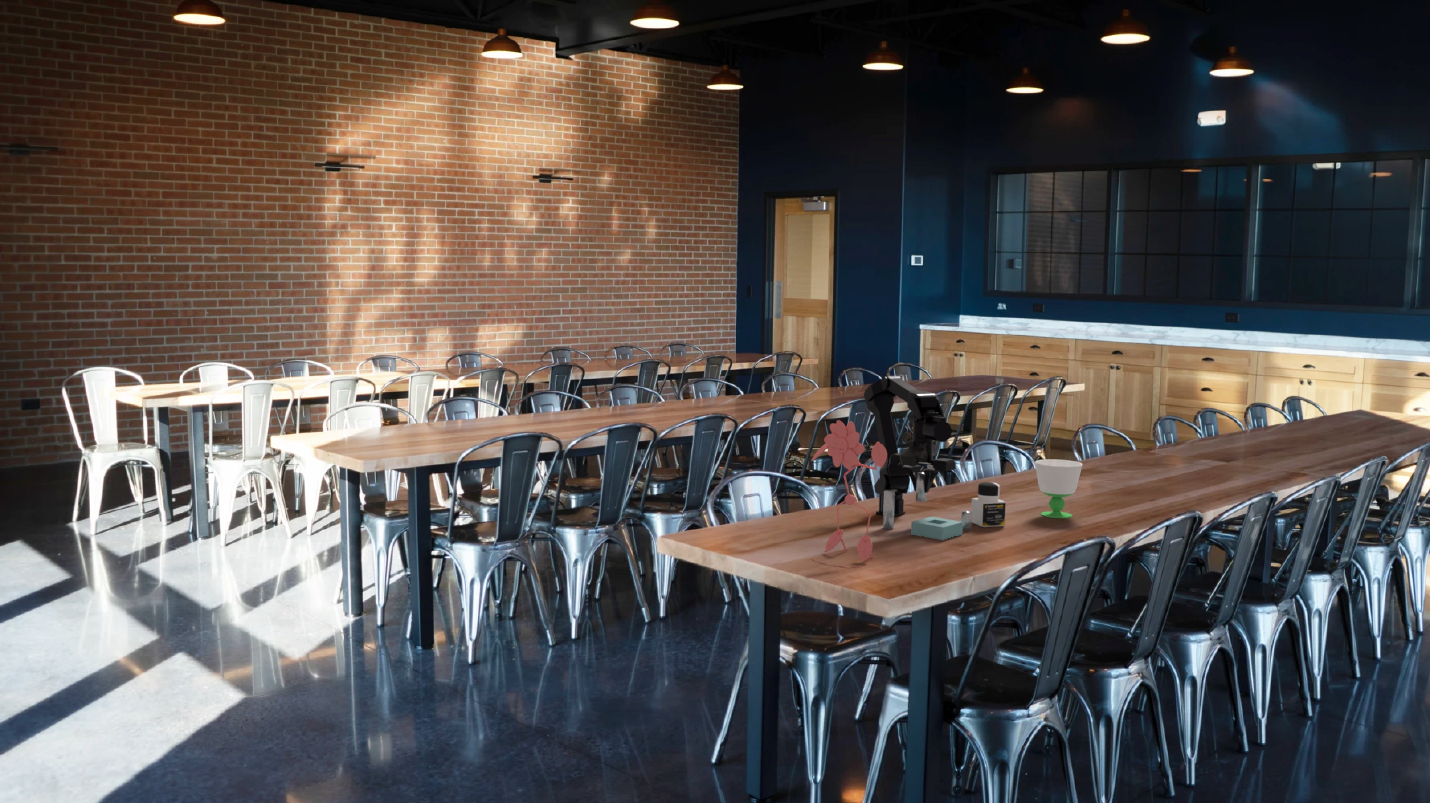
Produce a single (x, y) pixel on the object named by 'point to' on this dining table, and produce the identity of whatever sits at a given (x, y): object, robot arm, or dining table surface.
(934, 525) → the socket block
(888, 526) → the pin long
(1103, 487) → the dining table surface
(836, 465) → the figurine
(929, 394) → the robot arm
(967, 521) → the pin short
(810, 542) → the dining table surface
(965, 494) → the dining table surface
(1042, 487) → the cup
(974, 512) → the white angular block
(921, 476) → the pin medium
